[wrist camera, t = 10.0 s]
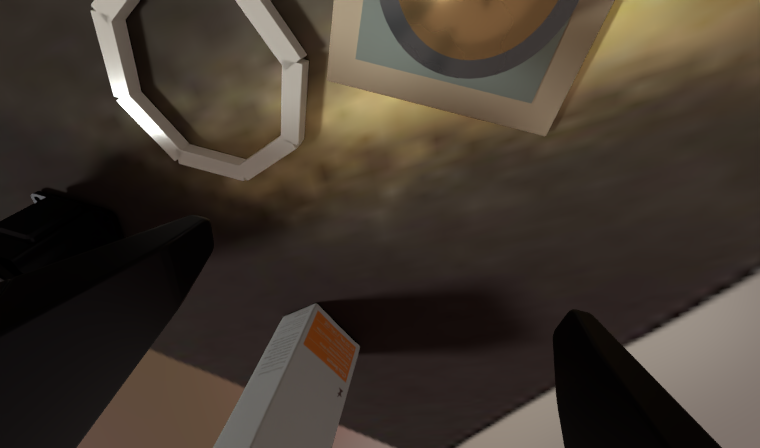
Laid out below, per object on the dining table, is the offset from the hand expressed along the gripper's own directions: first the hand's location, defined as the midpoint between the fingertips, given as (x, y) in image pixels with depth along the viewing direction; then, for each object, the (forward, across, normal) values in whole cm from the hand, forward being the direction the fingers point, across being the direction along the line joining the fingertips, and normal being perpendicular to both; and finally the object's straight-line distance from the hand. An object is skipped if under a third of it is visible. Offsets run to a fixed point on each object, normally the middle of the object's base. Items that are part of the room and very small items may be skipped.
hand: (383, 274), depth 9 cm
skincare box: (+12, +4, +20) cm, 23 cm away
